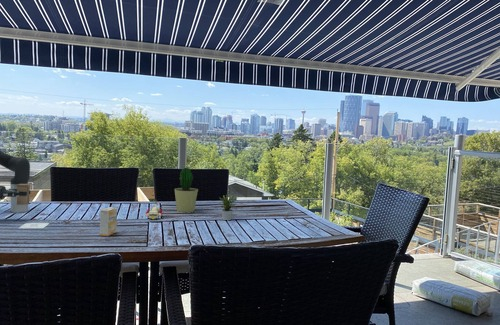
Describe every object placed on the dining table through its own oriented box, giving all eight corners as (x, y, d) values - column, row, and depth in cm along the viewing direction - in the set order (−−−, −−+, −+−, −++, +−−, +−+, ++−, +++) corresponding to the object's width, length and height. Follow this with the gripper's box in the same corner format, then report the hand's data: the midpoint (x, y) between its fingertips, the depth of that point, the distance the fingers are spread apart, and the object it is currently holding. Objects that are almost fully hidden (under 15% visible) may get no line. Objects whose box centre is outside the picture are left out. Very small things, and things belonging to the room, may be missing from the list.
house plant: (235, 224, 228) (236, 196, 227) (212, 222, 231) (213, 195, 230) (240, 219, 242) (241, 193, 241) (219, 217, 245) (220, 191, 244)
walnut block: (19, 203, 215) (20, 183, 214) (29, 203, 216) (29, 184, 215) (16, 204, 211) (16, 184, 210) (26, 205, 211) (26, 185, 211)
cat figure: (148, 213, 253) (144, 219, 228) (148, 200, 253) (144, 204, 228) (163, 213, 254) (161, 219, 230) (164, 200, 254) (161, 204, 230)
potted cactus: (198, 213, 253) (200, 168, 250) (174, 213, 249) (175, 167, 246) (196, 208, 267) (197, 165, 265) (173, 209, 264) (174, 165, 261)
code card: (25, 223, 209) (25, 223, 209) (49, 223, 212) (49, 222, 212) (18, 228, 199) (18, 228, 199) (43, 228, 201) (43, 227, 201)
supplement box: (108, 236, 191) (108, 210, 190) (99, 235, 192) (99, 209, 191) (117, 232, 200) (117, 207, 199) (108, 231, 200) (108, 206, 199)
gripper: (-12, 187, 203) (23, 188, 206) (-1, 183, 217) (33, 184, 220) (-12, 201, 203) (23, 202, 207) (-1, 197, 217) (33, 197, 221)
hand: (28, 193), depth 213 cm, fingers closed on walnut block, 4 cm apart
